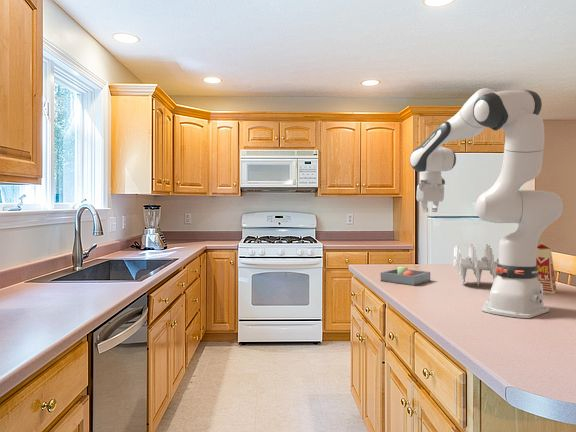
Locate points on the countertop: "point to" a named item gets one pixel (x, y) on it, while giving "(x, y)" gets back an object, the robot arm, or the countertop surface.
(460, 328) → the countertop surface
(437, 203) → the robot arm
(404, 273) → the tomato ball
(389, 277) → the bin
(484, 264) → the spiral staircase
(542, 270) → the milk carton
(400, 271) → the cucumber chunk
